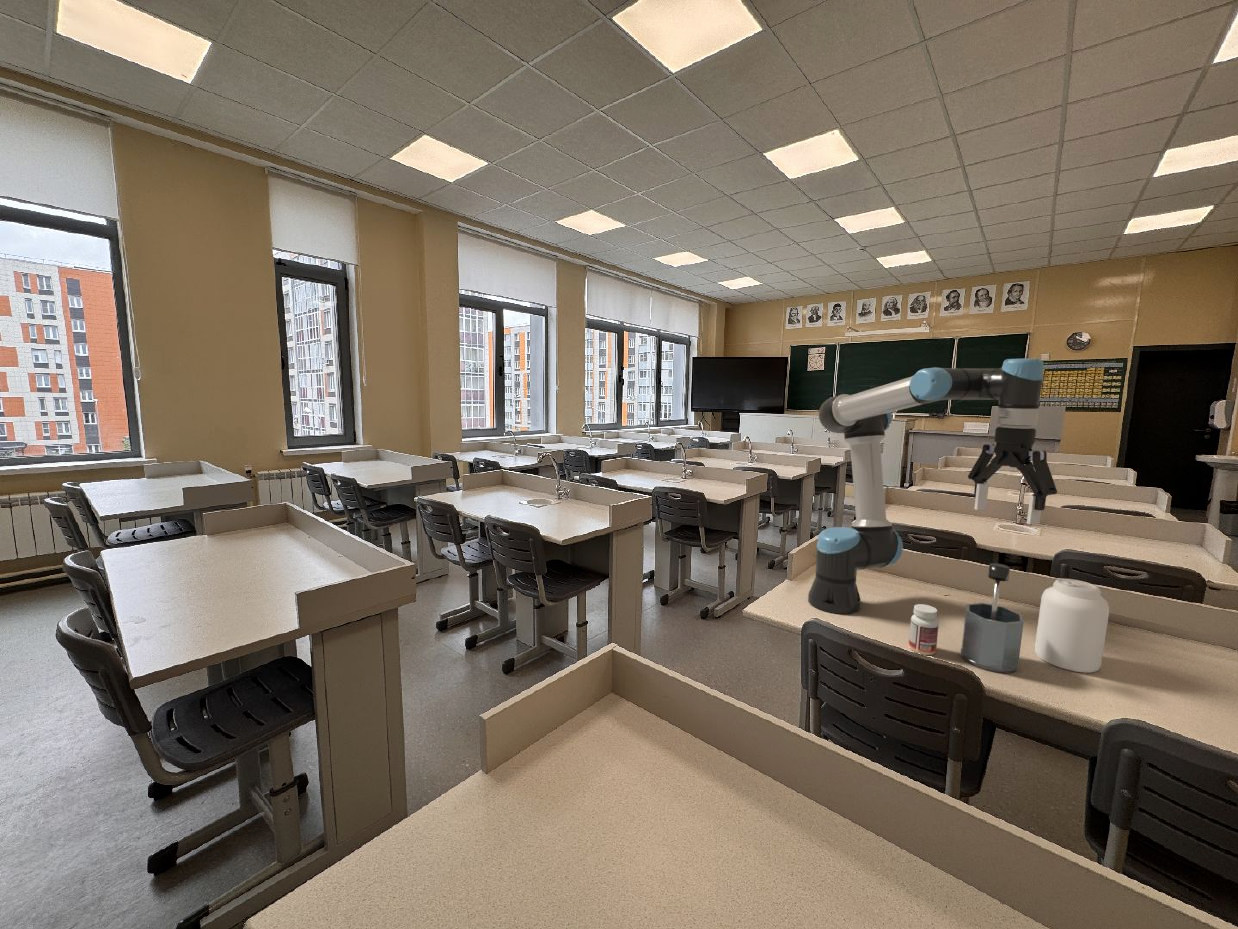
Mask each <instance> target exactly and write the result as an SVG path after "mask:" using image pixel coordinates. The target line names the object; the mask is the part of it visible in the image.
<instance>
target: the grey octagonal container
mask: <svg viewBox="0 0 1238 929" xmlns="http://www.w3.org/2000/svg"><path fill="white" fill-rule="evenodd" d="M992 604H993V603H992ZM992 604H990V603H986V602H977V603H976V602H974V603H967V604H966V607H965V613H964V614H965V615H964V624H963V630H962V631H963V632H962V642H961V649H960V657H961V658H962V659H963V661H965V662H966V663H968V664H969V665H972V666H973V667H975V668H978V669H981V670H984V671H988V672H991V673H995V674H996V673H998V674H1012V673H1015V672H1017V671H1018V668H1019V662H1020V654H1021V647H1022V646H1021V645H1022V641H1023V640H1022V639H1023V631H1024V624H1025V623H1024V617H1023V615H1022V614H1021V613H1019V612H1016V611H1014V610H1012V609H1010V608H1008V607H1005V606H1002V605H997V613H996V621H995V620H991V612H992Z"/></svg>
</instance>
